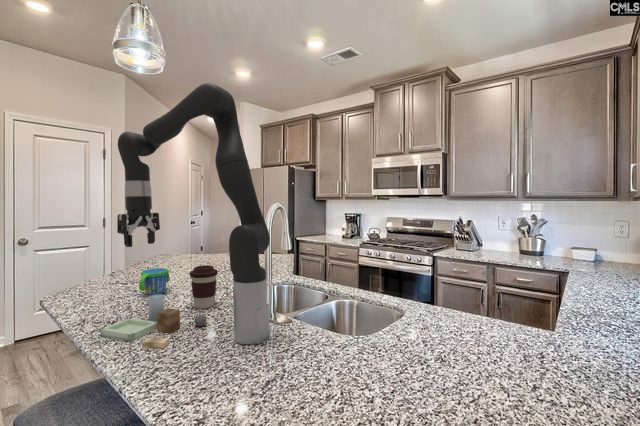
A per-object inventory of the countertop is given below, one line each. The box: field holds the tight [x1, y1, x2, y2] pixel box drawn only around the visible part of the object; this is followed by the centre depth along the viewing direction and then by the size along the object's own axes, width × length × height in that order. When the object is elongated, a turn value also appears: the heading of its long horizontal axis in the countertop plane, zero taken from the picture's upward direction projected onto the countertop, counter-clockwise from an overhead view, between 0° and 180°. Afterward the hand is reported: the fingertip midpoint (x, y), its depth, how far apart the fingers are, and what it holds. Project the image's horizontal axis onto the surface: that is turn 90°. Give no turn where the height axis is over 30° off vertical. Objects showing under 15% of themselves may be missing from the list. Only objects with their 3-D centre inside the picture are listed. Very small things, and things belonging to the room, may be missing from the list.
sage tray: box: [99, 317, 157, 342], centre depth 101 cm, size 12×10×2 cm
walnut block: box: [156, 308, 181, 335], centre depth 102 cm, size 4×4×6 cm
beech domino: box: [141, 337, 170, 350], centre depth 91 cm, size 6×3×2 cm, turn 86°
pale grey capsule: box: [147, 294, 165, 322], centre depth 111 cm, size 5×5×8 cm
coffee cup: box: [189, 264, 218, 310], centre depth 125 cm, size 10×10×15 cm
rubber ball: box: [194, 314, 207, 327], centre depth 105 cm, size 4×4×4 cm
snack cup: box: [138, 267, 171, 297], centre depth 142 cm, size 16×10×10 cm
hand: (140, 245), depth 108 cm, fingers open, 8 cm apart
